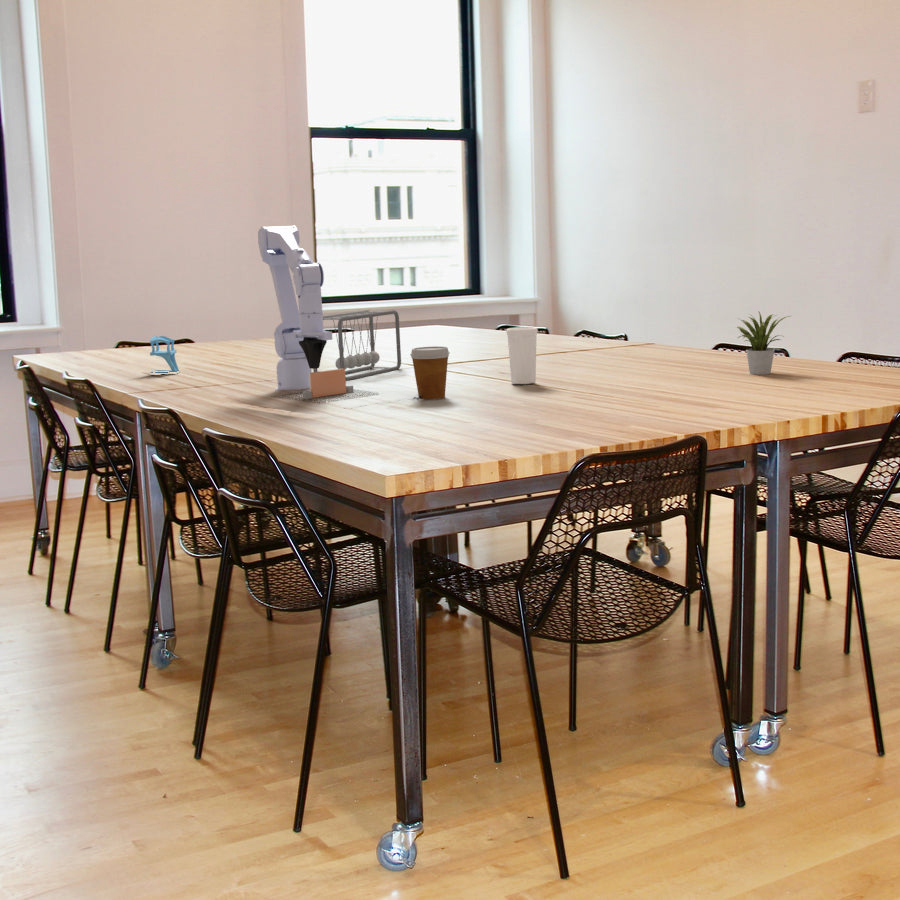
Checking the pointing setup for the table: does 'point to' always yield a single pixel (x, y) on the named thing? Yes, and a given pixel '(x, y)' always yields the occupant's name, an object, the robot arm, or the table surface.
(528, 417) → the table surface
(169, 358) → the chair
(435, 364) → the disposable coffee cup
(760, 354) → the house plant
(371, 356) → the newton's cradle
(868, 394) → the table surface
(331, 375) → the tile
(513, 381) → the cup
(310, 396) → the board
